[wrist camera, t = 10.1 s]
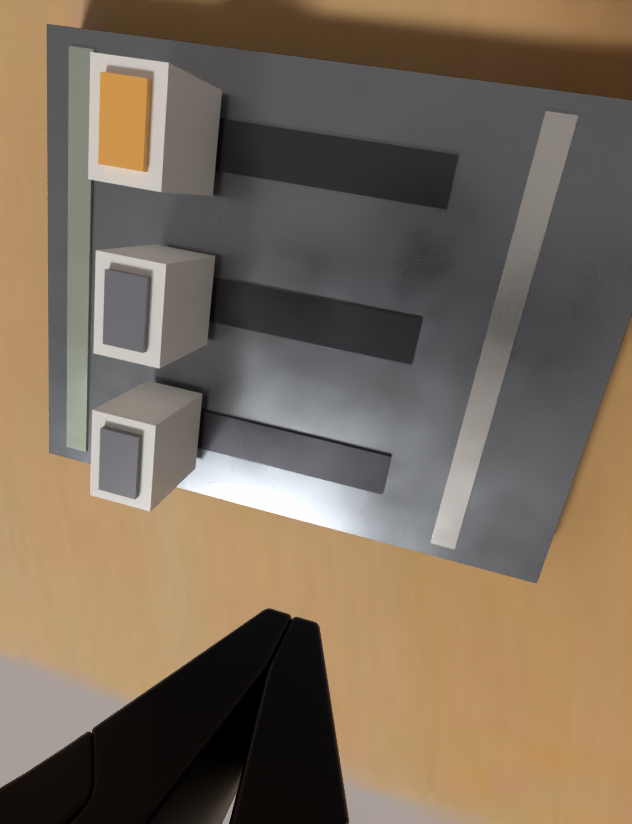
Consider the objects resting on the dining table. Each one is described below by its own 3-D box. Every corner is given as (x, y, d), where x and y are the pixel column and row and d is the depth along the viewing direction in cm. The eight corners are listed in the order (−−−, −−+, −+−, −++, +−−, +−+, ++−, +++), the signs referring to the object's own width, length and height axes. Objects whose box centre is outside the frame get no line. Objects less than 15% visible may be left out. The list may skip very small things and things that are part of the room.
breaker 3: (202, 393, 19) (152, 428, 16) (195, 468, 20) (146, 514, 17) (147, 380, 20) (87, 412, 17) (143, 454, 21) (86, 497, 18)
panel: (682, 118, 16) (705, 108, 14) (531, 558, 20) (537, 585, 19) (77, 38, 18) (44, 23, 17) (73, 438, 23) (47, 453, 22)
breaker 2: (215, 256, 18) (162, 264, 15) (207, 344, 19) (155, 370, 16) (155, 243, 18) (91, 250, 15) (150, 331, 19) (89, 354, 16)
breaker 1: (221, 89, 16) (164, 60, 13) (212, 195, 17) (157, 192, 14) (156, 80, 17) (85, 49, 13) (151, 185, 18) (83, 179, 14)
